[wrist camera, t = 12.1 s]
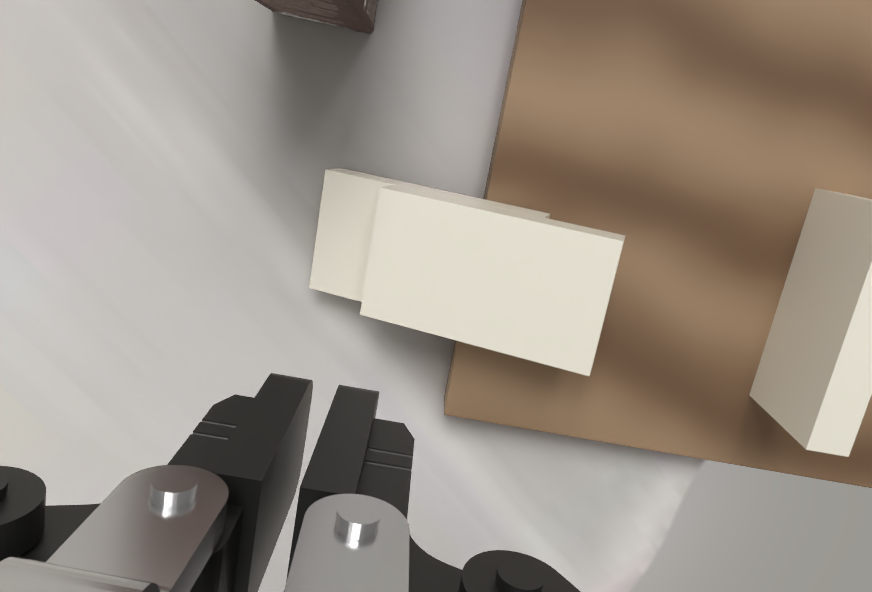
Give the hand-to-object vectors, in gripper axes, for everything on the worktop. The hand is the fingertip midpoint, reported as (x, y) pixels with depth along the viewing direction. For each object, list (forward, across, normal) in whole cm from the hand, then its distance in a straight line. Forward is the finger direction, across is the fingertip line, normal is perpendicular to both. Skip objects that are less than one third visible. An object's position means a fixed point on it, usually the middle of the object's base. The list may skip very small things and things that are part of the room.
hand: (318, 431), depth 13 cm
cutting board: (+19, -17, -3) cm, 26 cm away
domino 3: (+15, -17, -5) cm, 23 cm away
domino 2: (+13, -8, 0) cm, 16 cm away
